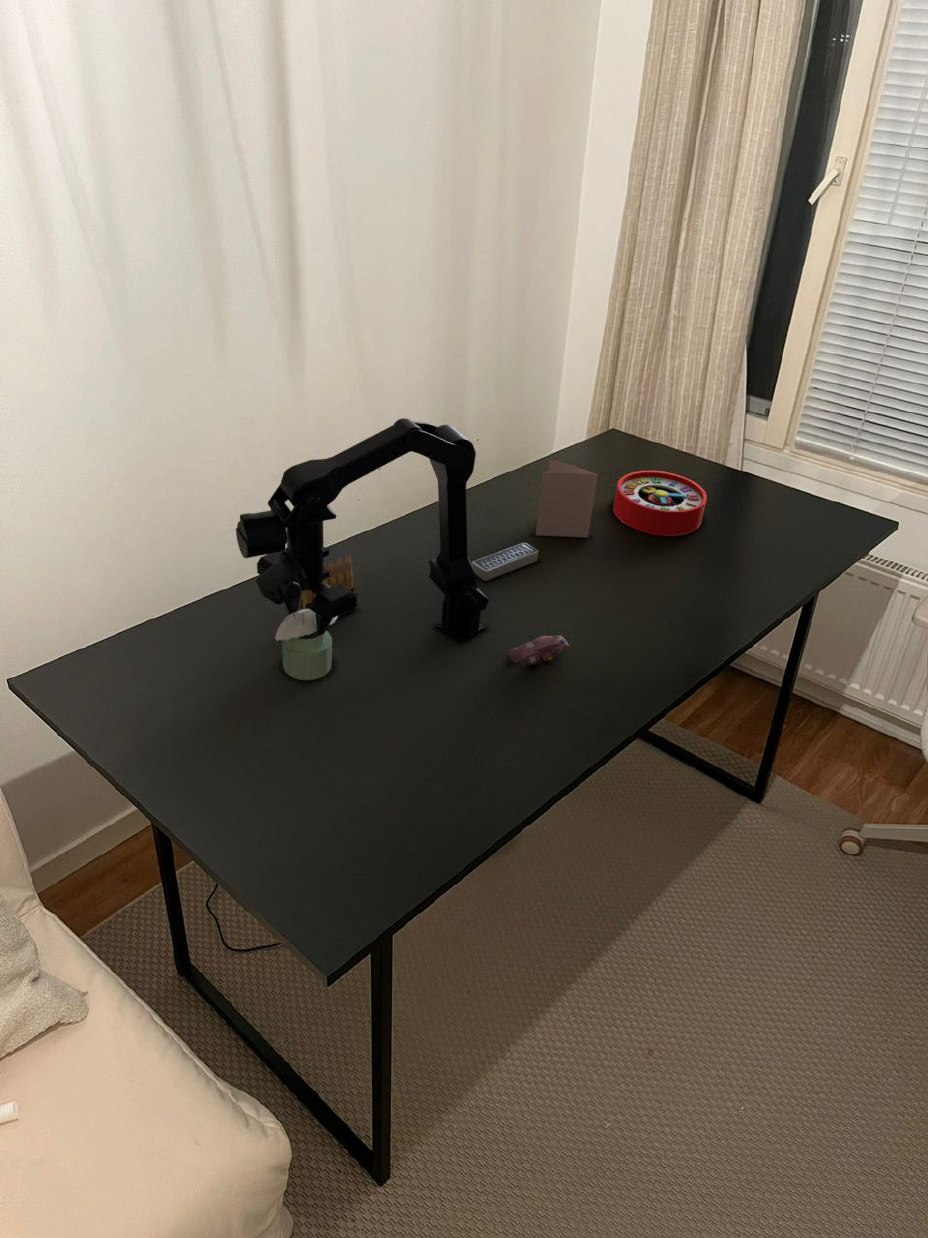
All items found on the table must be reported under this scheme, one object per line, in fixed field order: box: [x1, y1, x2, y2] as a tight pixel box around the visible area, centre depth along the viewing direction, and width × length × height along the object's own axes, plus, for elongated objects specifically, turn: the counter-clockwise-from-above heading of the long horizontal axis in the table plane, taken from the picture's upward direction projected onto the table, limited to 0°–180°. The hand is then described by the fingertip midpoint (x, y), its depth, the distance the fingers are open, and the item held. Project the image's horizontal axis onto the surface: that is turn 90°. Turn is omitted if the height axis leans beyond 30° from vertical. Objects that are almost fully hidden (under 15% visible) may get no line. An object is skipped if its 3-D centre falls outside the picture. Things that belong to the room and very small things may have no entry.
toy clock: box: [612, 470, 708, 537], centre depth 225 cm, size 20×6×20 cm
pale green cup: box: [281, 630, 333, 681], centre depth 170 cm, size 8×8×8 cm
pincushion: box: [275, 596, 339, 642], centre depth 166 cm, size 12×6×6 cm, turn 131°
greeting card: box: [535, 458, 599, 538], centre depth 212 cm, size 11×7×15 cm, turn 58°
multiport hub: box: [471, 542, 539, 582], centre depth 203 cm, size 4×14×2 cm, turn 130°
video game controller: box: [508, 634, 570, 666], centre depth 176 cm, size 10×5×7 cm
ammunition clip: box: [300, 553, 356, 618], centre depth 181 cm, size 11×2×12 cm, turn 129°
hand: (307, 625), depth 167 cm, fingers open, 7 cm apart
